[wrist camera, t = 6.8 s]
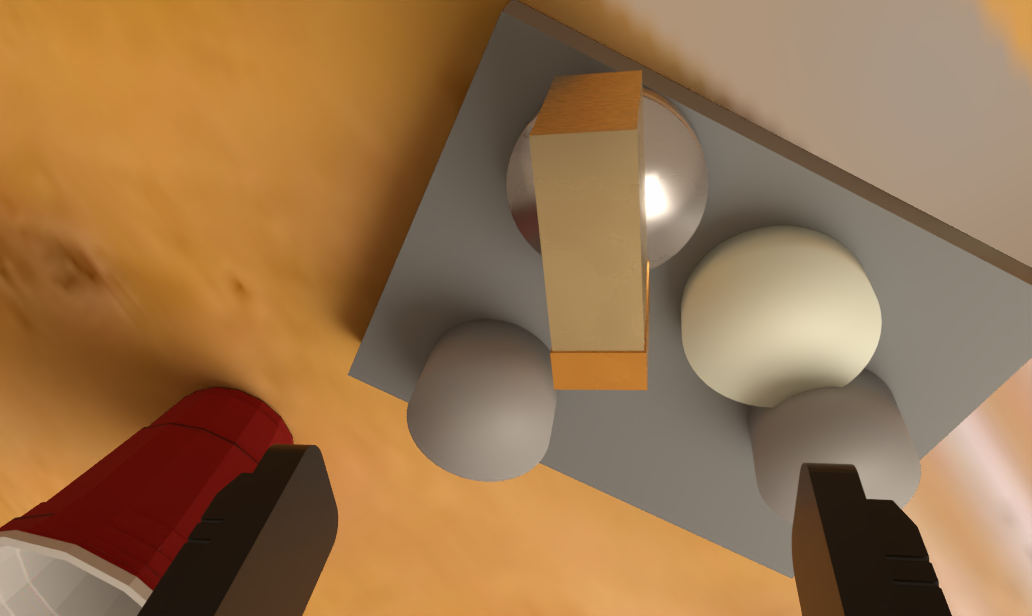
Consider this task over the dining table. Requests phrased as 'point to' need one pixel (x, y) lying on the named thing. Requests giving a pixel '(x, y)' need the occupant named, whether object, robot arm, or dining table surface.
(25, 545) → the plastic cup
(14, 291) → the dining table surface
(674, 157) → the wing knob
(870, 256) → the base
